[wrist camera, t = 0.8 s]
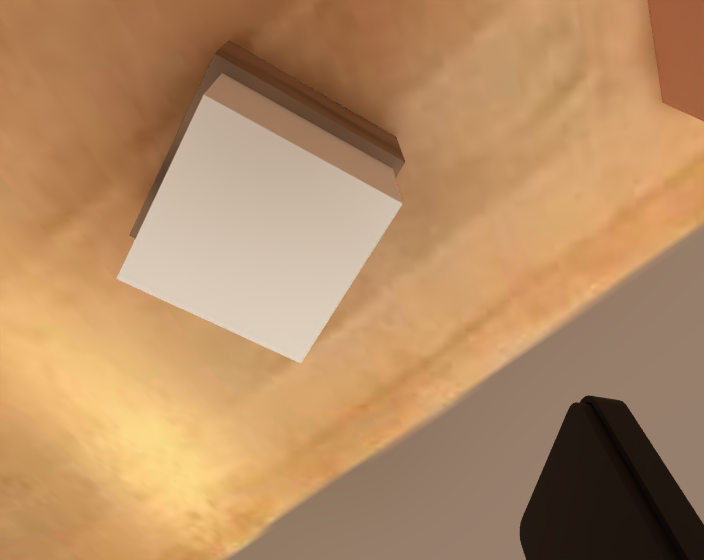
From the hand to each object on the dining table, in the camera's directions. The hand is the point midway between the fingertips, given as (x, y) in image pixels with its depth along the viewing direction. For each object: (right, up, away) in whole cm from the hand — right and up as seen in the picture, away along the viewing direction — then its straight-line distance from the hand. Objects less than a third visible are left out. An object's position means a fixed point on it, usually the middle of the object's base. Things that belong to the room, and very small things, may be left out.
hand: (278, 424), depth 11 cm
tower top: (-3, +6, +22) cm, 23 cm away
